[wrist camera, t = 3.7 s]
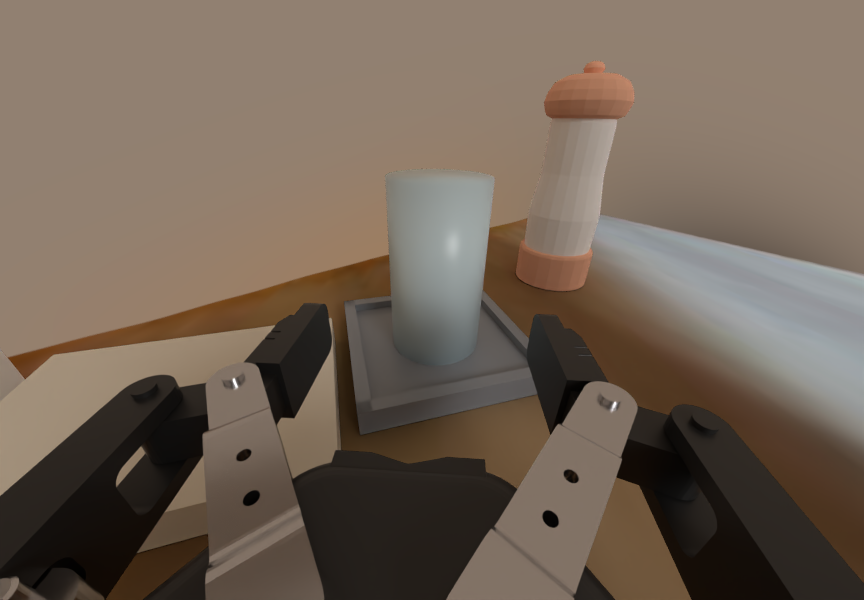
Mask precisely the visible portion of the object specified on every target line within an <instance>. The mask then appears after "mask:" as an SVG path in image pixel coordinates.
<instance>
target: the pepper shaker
mask: <svg viewBox="0 0 864 600" xmlns="http://www.w3.org/2000/svg"><path fill="white" fill-rule="evenodd" d="M604 70H605V65H604V63H603V62H601V61H592V62H590V63H588V64H587V65H586V66H585V68H584V73H582V74H573V75H569V76H567V77H565V78H563V79H561V80H559V81H557V82H555V84H554V85H553V86H552V88H551V89H550V91H549V92H548V94H547V96H546V99H545V102H544V106H545V112H546V115H547V116H549V117H551V118H552V120H551V122H550V127H549V132H548V138H547V144H546V150H545V154H544V160H543V165H542V171H541V174H540V177H539V180H538V183H537V186H536V189H535V192H534V195H533V198H532V201H531V204H530V207H529V213H528V220H527V227H526V235H525V239H523V240H522V241H521V243H520V249H519V255H518V261H517V267H516V275H517V277H518V278H519V279H520V280H522V281H523V282H524V283H527V284H529V285H531V286H534V287H537V288H541V289H545V290H552V291H571V290H576V289H578V288H580V287H582V286H583V285H584V283H585V280H586V276H587V273H588V269H589V265H590V262H591V258H592V255H593V252H592V250H591V248H590V246H591V243H592V240H593V236H594V233H595V230H596V227H597V223H598V220H599V217H600V207H601V197H602V188H603V179H604V172H605V168H606V165H607V161H608V157H609V153H610V149H611V145H612V141H613V137H614V133H615V130H616V126H617V120H616V119H619V118H622V117H624V116H625V115H626V114H627V113H628V112H629V110H630V108H631V107H632V105H633V103H634V89H633V87H632V83H631V82H630V81H629V80H628V79H626V78H624V77H623V76H621V75H619V74H616V73H603V71H604Z"/></svg>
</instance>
